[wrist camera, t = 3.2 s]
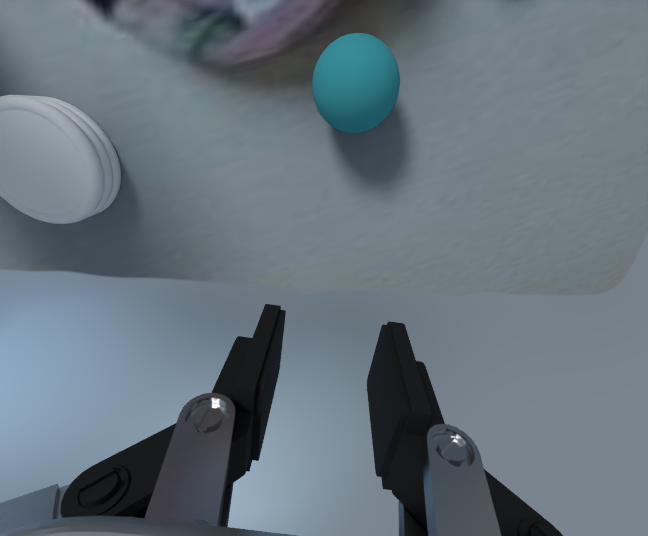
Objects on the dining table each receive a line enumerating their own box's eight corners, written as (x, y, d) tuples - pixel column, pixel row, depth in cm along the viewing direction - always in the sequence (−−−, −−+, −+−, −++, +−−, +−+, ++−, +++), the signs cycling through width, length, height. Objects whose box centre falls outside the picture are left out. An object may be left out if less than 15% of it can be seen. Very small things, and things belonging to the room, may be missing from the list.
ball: (349, 147, 27) (352, 156, 21) (299, 86, 25) (288, 80, 20) (408, 91, 25) (427, 85, 19) (358, 21, 23) (364, -6, 18)
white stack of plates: (140, 145, 28) (114, 150, 25) (104, 233, 32) (78, 247, 28) (21, 68, 26) (-23, 62, 22) (-2, 173, 29) (-43, 180, 26)
